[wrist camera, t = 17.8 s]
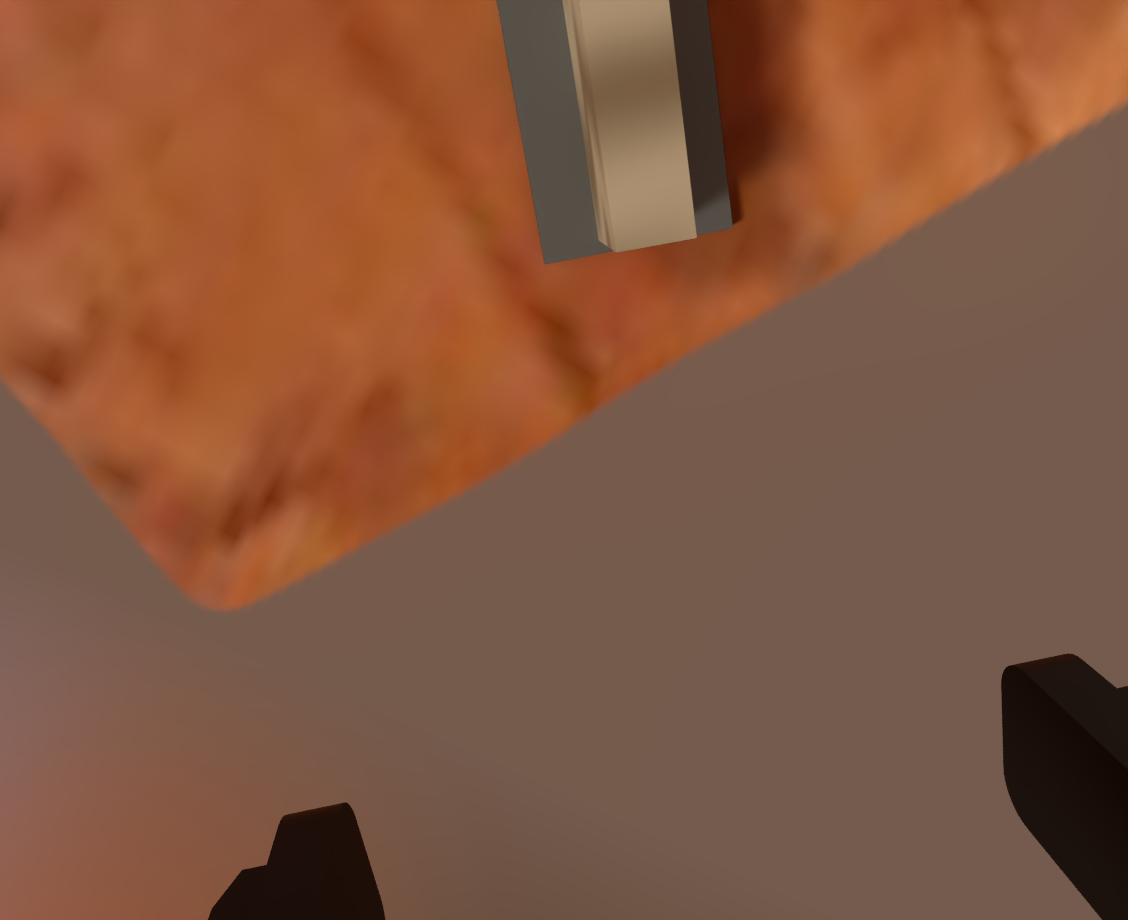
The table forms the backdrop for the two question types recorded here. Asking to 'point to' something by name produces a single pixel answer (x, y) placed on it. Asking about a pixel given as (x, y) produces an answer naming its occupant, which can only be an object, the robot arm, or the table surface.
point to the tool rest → (557, 129)
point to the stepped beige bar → (631, 121)
